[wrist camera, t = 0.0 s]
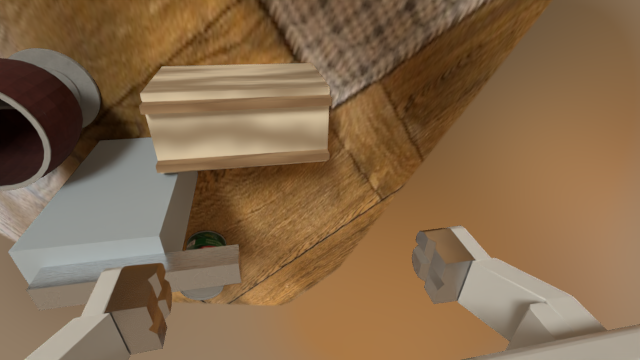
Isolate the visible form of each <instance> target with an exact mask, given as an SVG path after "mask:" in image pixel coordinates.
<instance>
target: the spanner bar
mask: <svg viewBox="0 0 640 360" xmlns="http://www.w3.org/2000/svg"><path fill="white" fill-rule="evenodd" d="M152 263H162V264H163V265H164V268H165V270H166V273H165V278H164V279H165V280H167V281H168V282H169V283H170V286H171V292H177V291H184V290H191V289H199V288H206V287H213V286H221V285H228V284H235V283H241V258H240V251H239V244H238V245H229V246H220V247H212V248H203V249H195V250H186V251H177V252H169V253H160V254H152V255H143V256H135V257H126V258H117V259H109V260H100V261H92V262H83V263H74V264H66V265H57V266H49V267H41V269H40V270H39V272H38V273H37V275H36V276H35V278H34V279H33V281H32V282H31V284H30V285H29V287H28V288H27V290H26V291H27V292H28V294H29V295H30V297H31V298H32V300H33V302H34V303H35V305H36V306H37V308H38V309H39V310H45V309H52V308H59V307H67V306H74V305H82V304H87V302H88V300H89V298H90V296H91V294H92V291H93V289H94V287H95V285H96V283H97V281H98V279H99V276H100V274H101V273H102V271H104V270H105V269H106V268H116V267H125V266H132V265H142V264H152Z"/></svg>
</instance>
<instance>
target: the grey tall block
mask: <svg viewBox="0 0 640 360" xmlns="http://www.w3.org/2000/svg"><path fill="white" fill-rule="evenodd" d="M157 162H158V160H157V156H156V152H155V148H154V145H153V141H152V138H135V139H117V140H100V141H99V143H98V144H97V145H96V146H95V147H94V149H93V150H92V151H91V152H90V153H89V155H88V156H87V157H86V158H85V160H84V161H83V162H82V163H81V164H80V166H79V167H78V168H77V169H76V170H75V172H74V173H73V174H72V175H71V176H70V178H69V179H68V180H67V181H66V183H65V184H64V185H63V186H62V187H61V189H60V190H59V191H58V192H57V193H56V195H55V196H54V197H53V198H52V199H51V201H50V202H49V203H48V204H47V206H46V207H45V208H44V209H43V210H42V212H41V213H40V214H39V215H38V216H37V218H36V219H35V220H34V221H33V222H32V224H31V225H30V226H29V227H28V229H27V230H26V231H25V232H24V233H23V235H22V236H21V237H20V238H19V239H18V241H17V242H16V243H15V244H14V246H13V247H12V248H11V249H10V250H9V252H8V253H9V254H10V256H11V257H12V259H13V260H14V262H15V264H16V265H17V267H18V268H19V270H20V271H21V273H22V274H23V276H24V278H25V279H26V281H27V282H28V284H29V285H30V284H31V282H32V281H33V279H34V278H35V276H36V275H37V273H38V272H39V270H40V269H41V267H49V266H57V265H66V264H74V263H83V262H92V261H100V260H109V259H117V258H126V257H135V256H143V255H152V254H160V253H169V252H177V251H182V249H183V245H184V240H185V235H186V230H187V226H188V221H189V216H190V211H191V207H192V202H193V197H194V192H195V188H196V183H197V178H198V173H197V171H191V172H178V173H164V174H161V173H157V170H156V167H155V166H156V164H157Z"/></svg>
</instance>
